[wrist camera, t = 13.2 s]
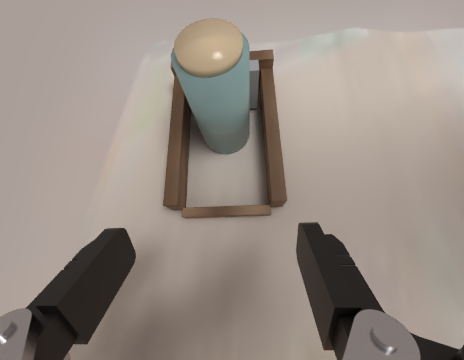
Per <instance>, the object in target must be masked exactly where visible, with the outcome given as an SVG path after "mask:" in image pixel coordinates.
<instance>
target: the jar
mask: <svg viewBox="0 0 464 360" xmlns="http://www.w3.org/2000/svg"><path fill="white" fill-rule="evenodd" d="M171 61H172V65H173V68H174V70H175V72H176V75H177V77H178V79H179V82H180V84H181V86H182V89H183V91H184V94H185V96H186V98H187V101H188V103H189V105H190V108H191V110H192V112H193V115H194V117H195V120H196V122H197V124H198V127H199V129H200V131H201V134H202V136H203V138H204V141H205V143H206V145H207V146H208V147H209V148H210V149H211V150H212V151H214V152H216V153H220V154H231V153H234V152H237V151H238V150H240V149H241V148H243V147H244V146H245V144H246V143H247V141H248V139H249V134H250V98H249V43H248V40H247V39H246V37H245V36H244V35H243V34H242V33H241V32H240V30H239V29H238V27H237V26H235V25H234V24H232V23H231V22H229V21H226V20H223V19H214V18H213V19H204V20H200V21H197V22H194V23H192V24H190V25H189V26H187V27H186V28H185V29H183V30H182V31H181V32H180V33H179V35H178V36H177V38H176V40H175V43H174V48H173V50H172V54H171Z"/></svg>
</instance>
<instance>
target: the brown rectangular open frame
mask: <svg viewBox="0 0 464 360" xmlns="http://www.w3.org/2000/svg"><path fill="white" fill-rule="evenodd" d="M249 60H258V62H259V83H258V87H260V98H261V110H262V123H263V135H264V148H265V160H266V173H267V185H268V197H269V205H249V206H222V207H194V208H186V196H187V177H188V158H189V138H190V119H191V108H190V105H189V103H188V101H187V98H186V96H185V94H184V91H183V89H182V86H181V84H180V82H179V79H178V77H177V75H176V72H175V70H174V68H173V65H172V61H171V69H172V72H173V74H174V76H175V77H174V88H173V100H172V111H171V122H170V134H169V145H168V156H167V168H166V179H165V190H164V202H163V205H164V206H166V207H168V208H170V209H172V210H182V217H184V218H203V217H234V216H265V215H271V207H277V206H283V205H284V204H285V202H286V201H287V196H286V187H285V178H284V169H283V159H282V150H281V141H280V132H279V123H278V114H277V105H276V95H275V86H274V77H273V60H274V56H273V50H262V51H251V52H249Z"/></svg>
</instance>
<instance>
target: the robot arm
mask: <svg viewBox="0 0 464 360" xmlns="http://www.w3.org/2000/svg"><path fill="white" fill-rule="evenodd" d="M296 253H297V260H298V264H299V268H300V271H301V275H302V278H303V281H304V285H305V288H306V291H307V295H308V298H309V302H310V305H311V308H312V312H313V315H314V318H315V322H316V325H317V329H318V332H319V335H320V339H321V342H322V346H323V349H324V350H334V352H335V355H336V358H337V360H464V345H463V347H462V348H461V349H460V350H459V349H456V348H453V347H450V346H446V345H443V344H440V343H437V342H434V341H431V340H428V339H425V338H422V337H419V336H416V335H414V334H412V333H410V332H409V331H408V330H407V329H406V328H405V327H404V326H403V325H402V324H401V323H400V322H398V321H397V320H396V319H394V318H393V317H391V316H389V315H388V314H386V313H385V312H384V311H383V309H382V308H381V306H380V305H379V303H378V301H377V300H376V298H375V296H374V295H373V293H372V291H371V290H370V288H369V286H368V285H367V283H366V281H365V280H364V278H363V276H362V275H361V273H360V271H359V270H358V268H357V267H356V266H355V263H354V261H353V260H352V258H351V257H350V255H349V253H348V251H347V250H346V248H345V246H344V245H343V243H342V242H341V241H339V240H338V239H337V238H336V237H335V236H334V235H332V234H326V235H324V233H323V231H322V229H321V227H320V225H319V224H318V223H317V222H313V223H299V225H298V236H297V247H296ZM135 258H136V253H135V250H134V247H133V245H132V243H131V240H130V238H129V235H128V233H127V231H126V229H124V228H108V229H105V230H104V231H103V232H102V233H101V234H100V235H99V236H98V237H97V238H96V239H95V240H94V241H92V242H91V243H89V244H88V245H87V246H85V247H84V248H82V249H81V250H80V251H79V252H78V253H77V254H76V256H75V257H74V258H73V259H72V261H70V262H69V263H68V264H67V265H66V266H65V267H64V270H61V271H60V273H59V274H58V275H57V276H56V277H55V278H54V279H53V280H52V281H51V282H50V283H49V284H48V285H47V286H46V287H45V288H44V290H43V291H42V292H41V293H40V294H39V295H38V296H37V297H36V298H35V299H34V300H33V301H32V302H31V303H30V304H29V306H27V307H26V308H24V309H17V310H14V311H11V312H9V313H7V314H5V315H3V316H1V317H0V360H70V354H69V350H70V348H71V347H72V345H73V344H88V342H89V340H90V338H91V337H92V335H93V333H94V332H95V330H96V328H97V326H98V325H99V323H100V321H101V320H102V318H103V316H104V314H105V313H106V311H107V309H108V308H109V306H110V304H111V303H112V301H113V299H114V297H115V296H116V294H117V292H118V291H119V289H120V287H121V285H122V284H123V282H124V280H125V279H126V277H127V275H128V273H129V272H130V270H131V268H132V267H133V265H134V262H135Z"/></svg>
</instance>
